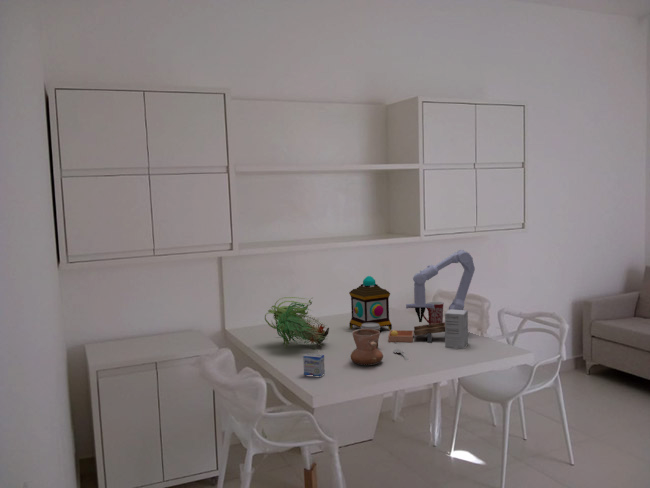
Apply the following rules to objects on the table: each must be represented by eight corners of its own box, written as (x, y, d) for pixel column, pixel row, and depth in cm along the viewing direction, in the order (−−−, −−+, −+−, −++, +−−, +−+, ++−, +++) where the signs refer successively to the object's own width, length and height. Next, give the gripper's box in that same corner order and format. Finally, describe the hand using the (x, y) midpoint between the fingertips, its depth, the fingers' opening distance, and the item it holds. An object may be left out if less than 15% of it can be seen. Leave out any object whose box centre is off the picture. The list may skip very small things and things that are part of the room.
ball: (395, 338, 291) (399, 332, 290) (395, 340, 287) (399, 334, 286) (389, 334, 291) (393, 328, 290) (388, 336, 287) (392, 329, 286)
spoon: (399, 351, 268) (399, 347, 268) (416, 363, 248) (416, 359, 248) (391, 352, 267) (391, 348, 267) (407, 364, 247) (407, 360, 247)
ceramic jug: (390, 366, 244) (389, 334, 243) (359, 370, 240) (358, 337, 238) (373, 355, 261) (372, 325, 260) (344, 359, 256) (343, 328, 255)
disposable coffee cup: (367, 345, 279) (367, 321, 277) (384, 347, 273) (383, 323, 272) (357, 350, 271) (356, 325, 270) (374, 352, 265) (373, 327, 264)
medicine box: (303, 376, 235) (302, 356, 234) (307, 373, 239) (306, 353, 238) (321, 377, 232) (320, 357, 231) (325, 374, 236) (324, 354, 235)
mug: (440, 324, 317) (440, 300, 316) (446, 327, 308) (446, 303, 307) (419, 325, 315) (418, 302, 314) (424, 329, 306) (423, 305, 305)
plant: (326, 344, 257) (258, 310, 261) (311, 378, 278) (249, 346, 283) (349, 300, 279) (287, 269, 283) (334, 334, 300) (276, 305, 304)
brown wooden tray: (445, 325, 294) (444, 319, 294) (446, 332, 279) (445, 326, 279) (415, 329, 297) (414, 323, 297) (414, 337, 282) (413, 331, 282)
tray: (413, 336, 293) (413, 330, 293) (412, 342, 281) (412, 336, 281) (390, 335, 295) (389, 330, 295) (388, 342, 283) (388, 336, 283)
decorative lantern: (346, 328, 315) (344, 275, 313) (376, 323, 324) (374, 272, 322) (364, 335, 298) (362, 279, 295) (395, 330, 306) (394, 276, 304)
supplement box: (449, 342, 279) (449, 308, 277) (468, 343, 275) (468, 310, 273) (445, 347, 270) (444, 312, 269) (464, 349, 266) (463, 314, 265)
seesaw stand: (431, 336, 292) (431, 327, 291) (431, 342, 279) (431, 333, 279) (427, 336, 292) (427, 327, 292) (427, 342, 280) (427, 333, 279)
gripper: (433, 294, 296) (434, 319, 297) (406, 294, 298) (406, 319, 299) (434, 297, 289) (434, 323, 290) (405, 297, 291) (406, 323, 292)
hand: (420, 321), depth 294 cm, fingers closed
